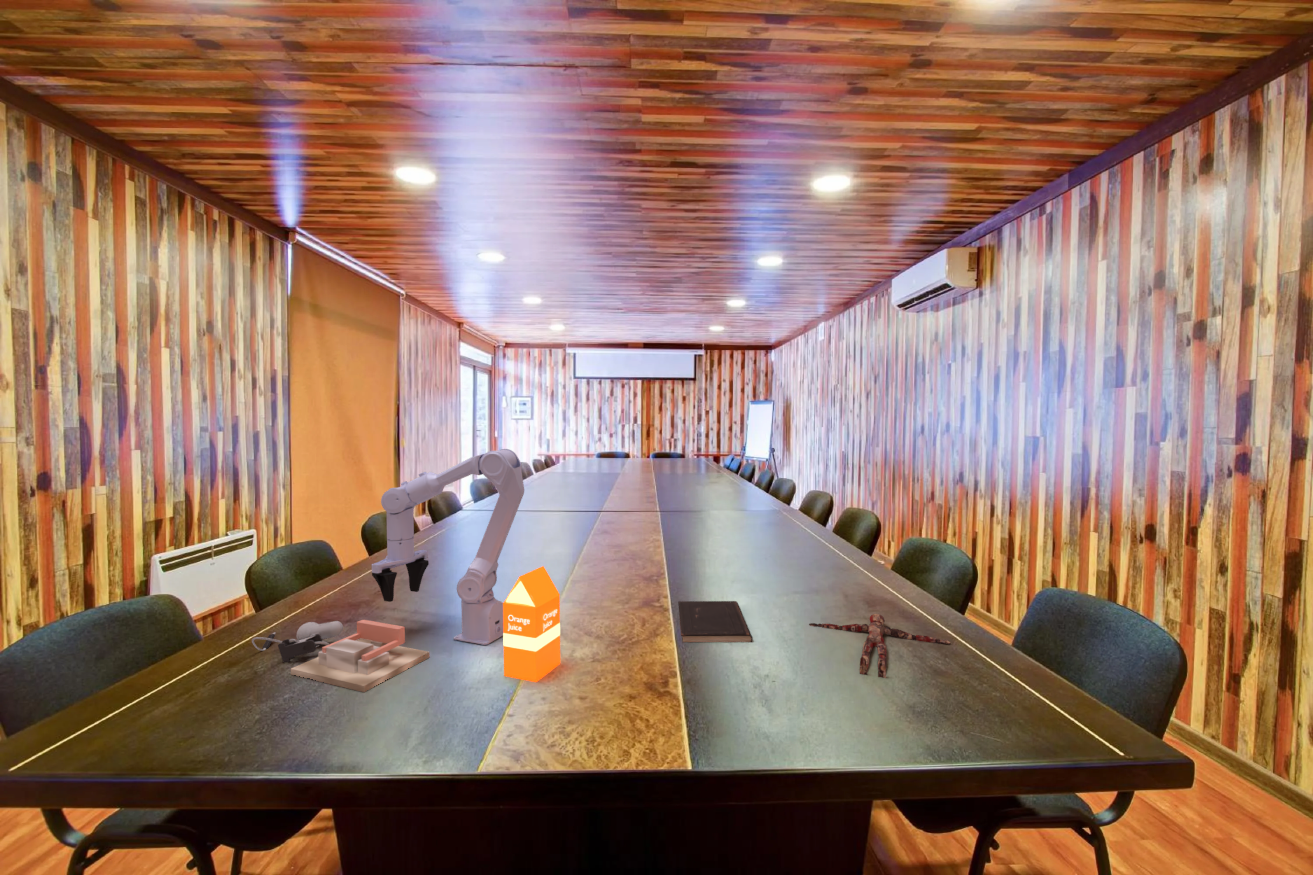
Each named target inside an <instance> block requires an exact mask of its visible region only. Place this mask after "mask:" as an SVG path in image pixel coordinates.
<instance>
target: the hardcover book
mask: <svg viewBox="0 0 1313 875" xmlns="http://www.w3.org/2000/svg"><path fill="white" fill-rule="evenodd" d="M677 603H678V604H677V605H678V606H677V607H678V615H679V616H678V617H679V627H680V637H682V639H681V640H682V643H752V642H753V636H752V634H751V632H750V629H749V627H748V624H747V622H746V619H745V617H744V615H743V612H742V610H741V607H740V605H739V603H738V601H736V600H715V601H714V600H711V601H709V600H707V601H706V600H697V601H695V600H692V601H689V600H686V601H685V600H684V601H683V600H682V601H678V602H677Z"/></svg>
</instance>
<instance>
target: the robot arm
mask: <svg viewBox="0 0 1313 875" xmlns="http://www.w3.org/2000/svg"><path fill="white" fill-rule="evenodd" d="M522 467H523V464H522V462H521V460H520V459H519V457H518V455H517V454H516V452H514V451H513V450H512V449H508V448H502V449H499V450H489V451H487V452H485V453H480V454H477V455H474V456H471V457H469V458H467V459H466V460H463V461H461V462H459V463H457V464H456V465H455V464H454V466H452V467H451V466H450V468H447V469H446V470H444V471H442V472H440V473H435V472H433V471H429V472H427V471H422V472H420V473H419V474H418V477H416V478H414V479H412V480H410V481H403V482H401V483H400V484H401V486H398V487H391V488H389V489H388V490H386V491H385V492H383V494H382V495H381V499H380V500H381V501H380V502H381V503H380V504H381V506H382V508H383V510H385V512H386V542H387V543H386V547H387V548H386V551H387V555H386V556H385V558H384V559H381V560H378V561H377V562H374V563H371V576H372V577H373V579H374V580H375V581H376V583H377V584H378V587H379V589H380V592H381V595H382V598H383V599H382V600H383V601H384V602H389V603H391V602H393V601H394V599H395V598H394V597H395V582H396V578H397V575H398V572H397V571H392V569H395V568H397V567H400V566H404V565H405V566H406V570H407V574H408V583H409V584H408V585H409V590H410V592H414V593H415V592H416V593H417V592H419V591H420V588H421V584H422V579H423V576H424V573H425V571H426V570H427V568H428V566H429V564H430V563H429V560H427V559H429V554H428V553H429V550H425V549H420V550H415V531H414V530H415V525H414V524H415V523H414V521H415V520H414V519H415V518H414V510H415V507H416V506H418V505H420V504H422V503H425V502H427V501H429V500H431V499H433V498H435V497H437V496H439V495H442V494H443V491H444V488H445V486H447V485H450V484H452V483H455V482H458V481H459V480H462V479H464V478H467V477H469V476H471V475H475V476H481V475H483V476H484V478H486V479H487V480H488V481H490V483H492V484H493V485H494V487H495V490H496V491H497V493H498V494H499V495H498V499H497V501H496V504H495V506H494V509H493V511H492V513H491V516H490V519H489V521H488V523H487V526H486V529H485V532H484V535H483V537H482V539H481V542H480V544H479V547H478V549H477V552H476V555H475V557H474V558H473V560H472V562H471V563H470V564H469V566H468V567H467V570H466V572H465V574H464V575H462V577H461V578H460V579H459V580H458V582H457V583H456V593H457V595H458V597H459V598H460V599H461V600H460V601H461V633H459V634H457V635H455V636H454V637H453V640H455V641H461V642H467V643H472V644H478V645H483V646H488V645H489V644H491V643H492V642H494V641H495V640H496V641H497V639H499V638H501V637H503V603H504V602H502V601H501V600H498V599H497V598H495V597H494V596H495V594H494V591H493V588H494V587H495V586H496V583H497V582H498V580H497V579H498V576H497V572H498V568H499V562H498V560H499V558H500V556H501V553H502V550H503V548H504V546H505V543H506V540H507V538H508V535H509V533H510V530H511V527H512V525H513V523H514V520H515V518H516V514H517V512H518V511H519V510H518V509H519V507H520V505H521V502H522V499H523V497H524V494H525V486H524V478H523V474H522V472H523V471H522Z"/></svg>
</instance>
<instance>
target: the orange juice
mask: <svg viewBox="0 0 1313 875" xmlns="http://www.w3.org/2000/svg"><path fill="white" fill-rule="evenodd" d="M560 595H561V594H560V593H559V591H558V588H557V587H556V585H555V583H554V581H553V580H552V578H551V577H550V575H549V573H548V571H547V570H546V568H545V567H544V565H542V566H540V567H537V568H535V569H534V570H531V571H528V572H527V573H525V574H522V575H520V576H518V578H517V580H516V581H515V584H513V587H512V589H511V590H510V592H509V593H508V594H507V597H506V599H504V602H502V603H503V636H502V639H503V640H502V644H503V676H504V677H507V678H508V677H509V678H512V679H518V680H523V681H527V682H532V683H538V682H539V681H540V680H542V678H544V677H546V675H548V674H549V673H551V672H552V671H553V670H554V669H555V668H557V667H558V666H560V665H561V607H560V605H561V604H560V598H561V597H560Z"/></svg>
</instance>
